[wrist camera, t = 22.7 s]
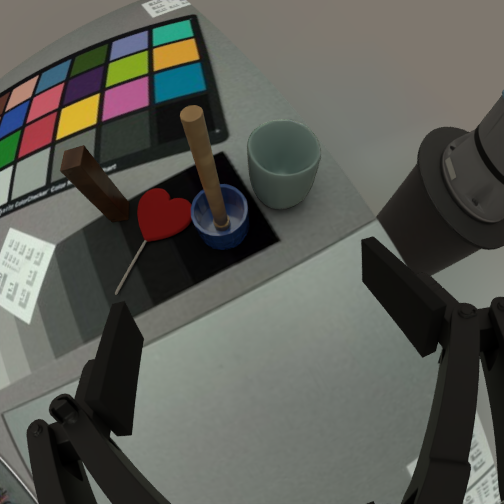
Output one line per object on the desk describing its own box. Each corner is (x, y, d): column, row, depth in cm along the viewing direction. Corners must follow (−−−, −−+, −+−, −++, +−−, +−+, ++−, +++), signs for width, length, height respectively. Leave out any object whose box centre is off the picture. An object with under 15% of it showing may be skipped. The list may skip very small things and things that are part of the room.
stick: (229, 215, 39) (205, 101, 20) (231, 230, 39) (205, 121, 20) (213, 217, 39) (177, 105, 20) (214, 232, 39) (176, 125, 20)
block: (129, 202, 41) (84, 145, 28) (128, 219, 40) (80, 165, 27) (112, 205, 41) (64, 150, 28) (111, 222, 40) (59, 171, 27)
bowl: (246, 199, 41) (244, 180, 36) (252, 247, 39) (250, 232, 34) (197, 206, 41) (189, 187, 36) (200, 253, 39) (192, 239, 34)
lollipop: (142, 310, 36) (200, 208, 40) (139, 309, 36) (199, 204, 39) (95, 280, 38) (151, 186, 42) (91, 278, 37) (149, 182, 41)
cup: (261, 225, 40) (261, 186, 30) (242, 175, 42) (237, 128, 32) (318, 207, 40) (333, 165, 31) (295, 160, 42) (303, 112, 33)
